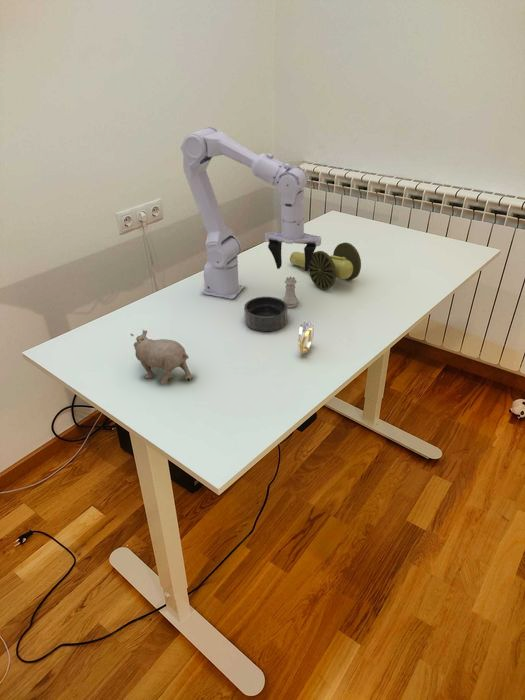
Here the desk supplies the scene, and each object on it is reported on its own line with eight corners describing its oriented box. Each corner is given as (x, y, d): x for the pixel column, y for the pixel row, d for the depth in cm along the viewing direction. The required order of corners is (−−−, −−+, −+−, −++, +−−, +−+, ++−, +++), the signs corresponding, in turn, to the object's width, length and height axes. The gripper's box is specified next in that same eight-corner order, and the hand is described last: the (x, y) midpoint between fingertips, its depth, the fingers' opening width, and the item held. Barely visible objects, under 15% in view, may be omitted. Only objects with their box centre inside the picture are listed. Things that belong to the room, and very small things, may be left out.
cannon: (279, 268, 160) (280, 234, 153) (307, 258, 166) (309, 225, 159) (334, 297, 143) (337, 260, 137) (363, 285, 149) (367, 249, 143)
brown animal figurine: (177, 390, 105) (145, 324, 103) (144, 400, 114) (115, 340, 113) (203, 375, 110) (173, 313, 108) (170, 386, 120) (142, 329, 118)
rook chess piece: (296, 309, 138) (297, 282, 133) (280, 307, 139) (281, 281, 134) (299, 301, 141) (300, 275, 137) (283, 300, 142) (283, 274, 138)
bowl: (238, 328, 130) (237, 313, 127) (254, 308, 138) (254, 293, 136) (278, 336, 126) (278, 320, 124) (292, 315, 135) (293, 300, 132)
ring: (304, 361, 117) (305, 332, 113) (292, 357, 119) (293, 328, 114) (317, 347, 122) (319, 318, 118) (306, 343, 124) (307, 315, 119)
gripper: (260, 222, 125) (262, 272, 132) (317, 226, 121) (316, 277, 128) (268, 213, 131) (270, 261, 138) (323, 216, 127) (322, 266, 134)
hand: (293, 268), depth 134 cm, fingers open, 7 cm apart
